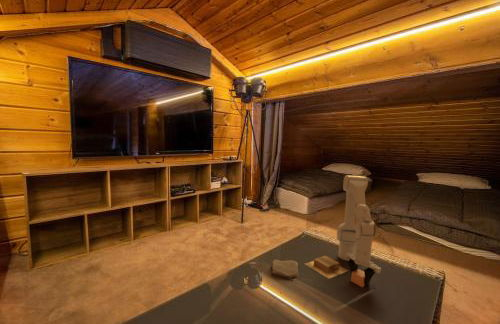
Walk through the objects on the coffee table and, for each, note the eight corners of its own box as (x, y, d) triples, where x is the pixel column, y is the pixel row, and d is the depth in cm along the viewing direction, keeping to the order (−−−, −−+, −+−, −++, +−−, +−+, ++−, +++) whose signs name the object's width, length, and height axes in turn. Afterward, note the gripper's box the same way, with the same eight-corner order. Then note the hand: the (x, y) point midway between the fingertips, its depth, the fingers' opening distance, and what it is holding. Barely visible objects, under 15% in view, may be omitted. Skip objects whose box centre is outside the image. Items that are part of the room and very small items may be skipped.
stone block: (299, 283, 100) (297, 267, 109) (300, 274, 98) (297, 258, 108) (271, 281, 101) (271, 265, 110) (271, 272, 99) (272, 256, 109)
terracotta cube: (357, 280, 102) (358, 269, 102) (368, 286, 98) (370, 274, 97) (350, 283, 99) (351, 271, 99) (361, 289, 95) (363, 277, 95)
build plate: (323, 259, 119) (323, 257, 119) (348, 272, 107) (348, 270, 107) (304, 265, 111) (304, 263, 111) (328, 281, 100) (328, 278, 100)
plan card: (345, 285, 97) (345, 284, 97) (361, 294, 91) (361, 293, 91) (336, 289, 94) (336, 288, 94) (352, 299, 88) (352, 298, 88)
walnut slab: (324, 261, 115) (325, 255, 115) (338, 269, 108) (339, 262, 108) (313, 265, 110) (314, 259, 110) (327, 273, 104) (328, 267, 103)
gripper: (342, 244, 101) (339, 275, 102) (375, 259, 89) (371, 293, 90) (351, 242, 105) (348, 271, 106) (385, 255, 93) (381, 288, 94)
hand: (360, 281), depth 98 cm, fingers closed on terracotta cube, 5 cm apart
